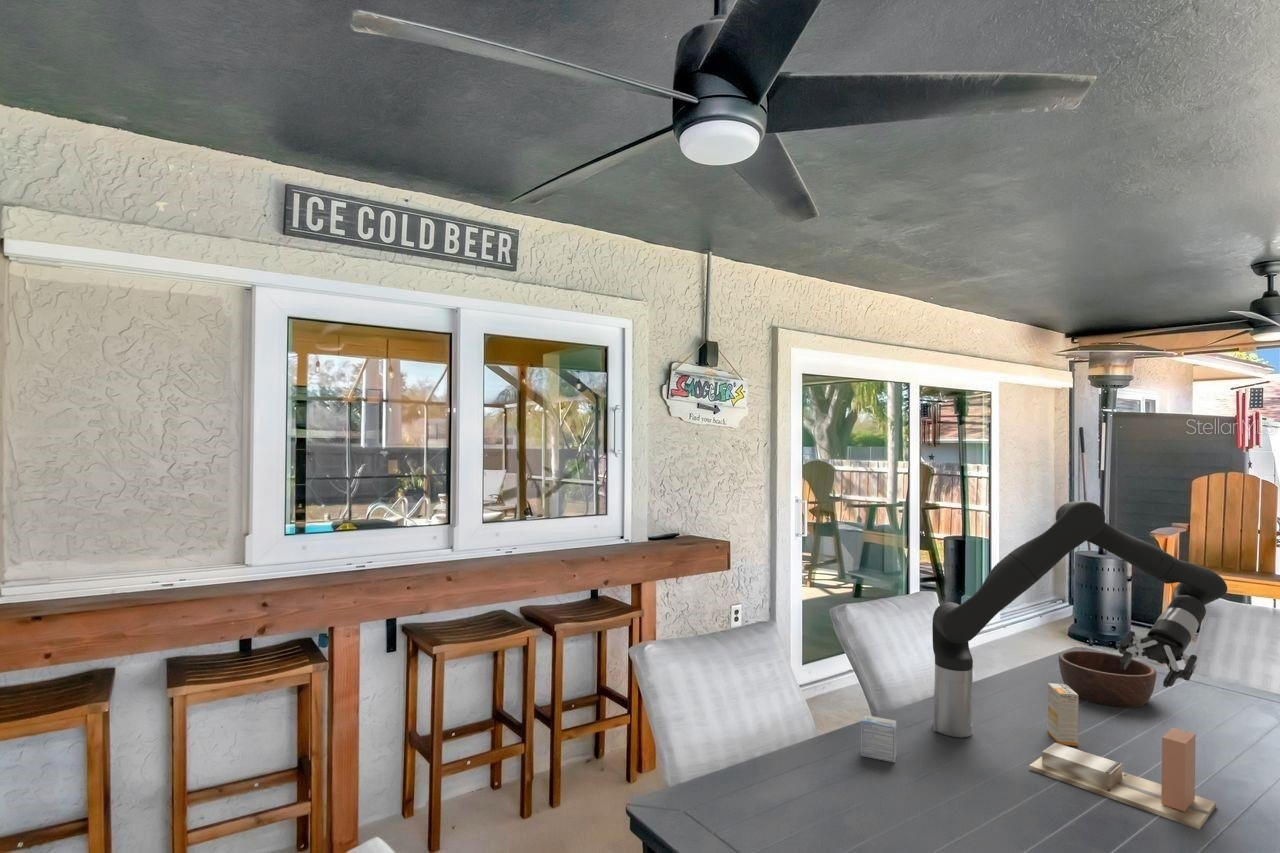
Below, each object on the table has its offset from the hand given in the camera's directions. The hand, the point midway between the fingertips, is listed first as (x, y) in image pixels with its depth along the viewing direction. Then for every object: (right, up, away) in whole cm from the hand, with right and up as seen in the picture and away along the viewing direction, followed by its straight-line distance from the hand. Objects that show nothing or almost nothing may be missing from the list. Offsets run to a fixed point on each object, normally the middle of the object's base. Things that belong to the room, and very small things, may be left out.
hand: (1143, 675), depth 163 cm
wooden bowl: (+26, -25, +53) cm, 65 cm away
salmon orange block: (-2, -22, -13) cm, 26 cm away
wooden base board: (-9, -24, -4) cm, 26 cm away
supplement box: (-6, -24, +21) cm, 32 cm away
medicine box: (-58, -23, +9) cm, 63 cm away
